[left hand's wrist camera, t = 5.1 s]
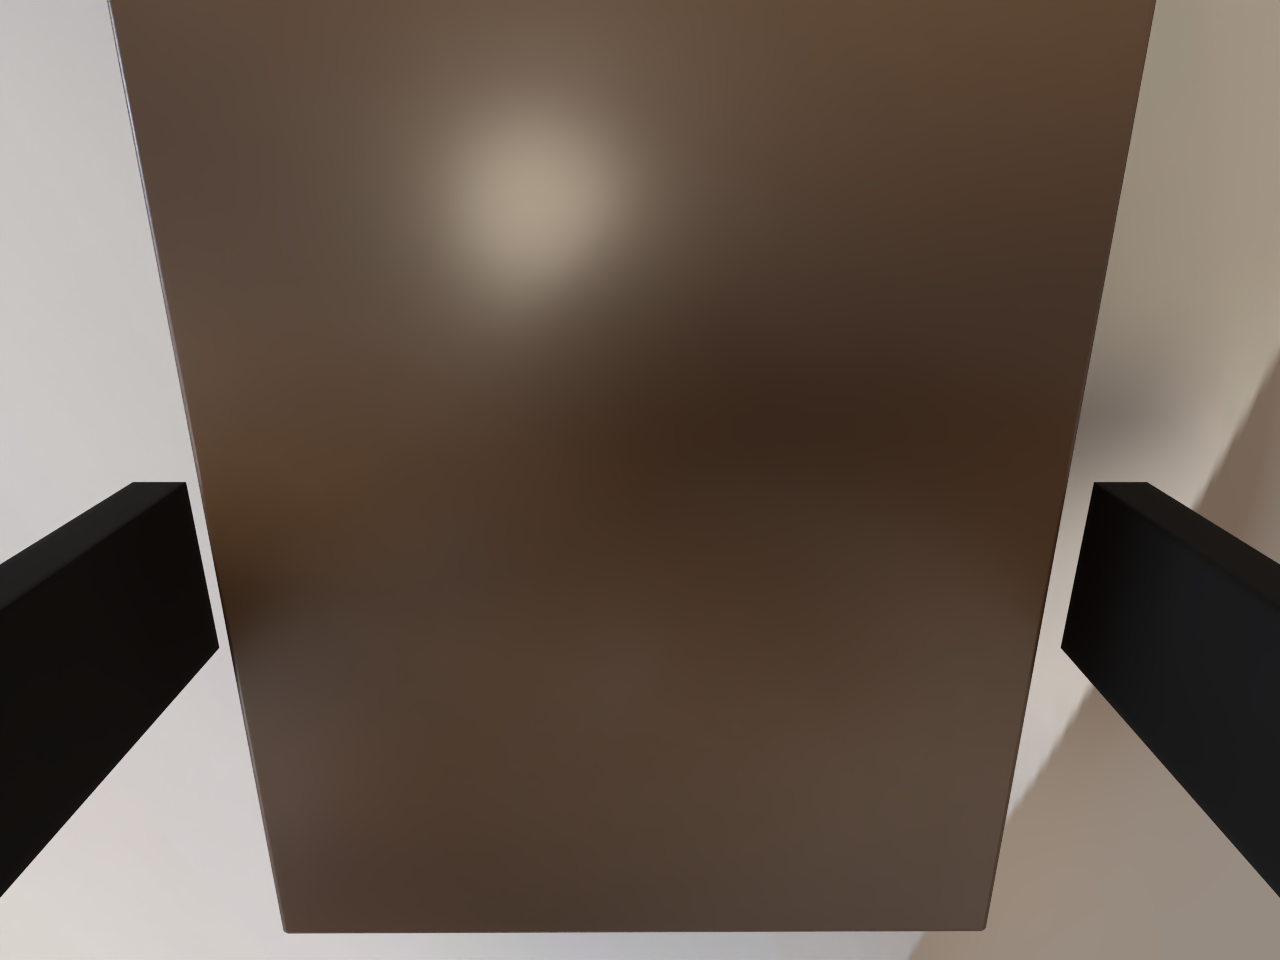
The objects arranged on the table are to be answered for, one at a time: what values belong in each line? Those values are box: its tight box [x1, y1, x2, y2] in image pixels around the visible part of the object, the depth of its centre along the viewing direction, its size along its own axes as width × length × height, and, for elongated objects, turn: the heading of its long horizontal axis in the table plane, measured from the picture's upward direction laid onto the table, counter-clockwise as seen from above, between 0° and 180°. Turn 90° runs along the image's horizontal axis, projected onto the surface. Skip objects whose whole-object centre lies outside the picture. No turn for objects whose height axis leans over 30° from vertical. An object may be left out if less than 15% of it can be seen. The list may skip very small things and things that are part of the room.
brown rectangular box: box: [107, 0, 1156, 933], centre depth 13 cm, size 19×10×10 cm, turn 0°
